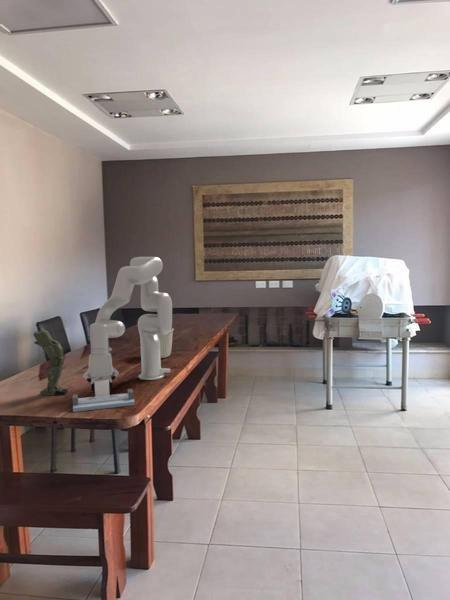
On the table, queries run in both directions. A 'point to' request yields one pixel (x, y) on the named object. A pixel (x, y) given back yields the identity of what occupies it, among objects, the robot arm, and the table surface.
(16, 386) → the table surface
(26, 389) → the table surface
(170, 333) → the canister
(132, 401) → the board
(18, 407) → the table surface
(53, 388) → the green creature figurine
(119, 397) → the rail
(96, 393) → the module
